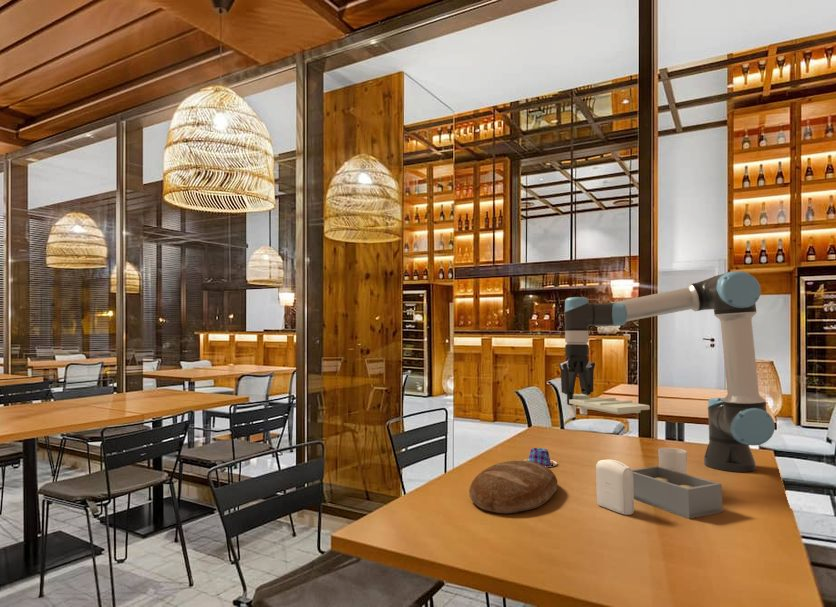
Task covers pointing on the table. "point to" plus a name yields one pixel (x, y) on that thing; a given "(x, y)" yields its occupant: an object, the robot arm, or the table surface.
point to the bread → (513, 487)
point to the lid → (608, 405)
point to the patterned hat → (540, 456)
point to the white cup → (673, 459)
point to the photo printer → (615, 486)
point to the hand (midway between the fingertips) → (577, 414)
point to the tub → (677, 492)
